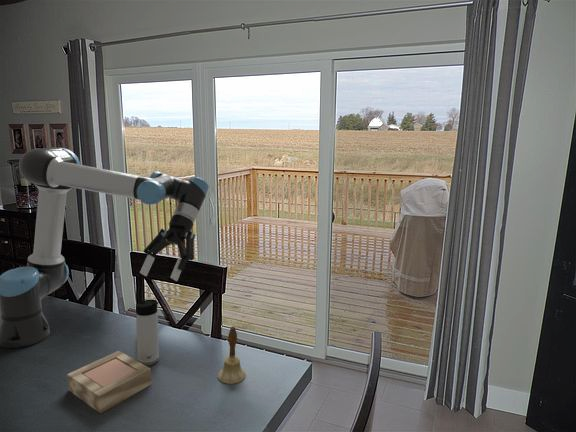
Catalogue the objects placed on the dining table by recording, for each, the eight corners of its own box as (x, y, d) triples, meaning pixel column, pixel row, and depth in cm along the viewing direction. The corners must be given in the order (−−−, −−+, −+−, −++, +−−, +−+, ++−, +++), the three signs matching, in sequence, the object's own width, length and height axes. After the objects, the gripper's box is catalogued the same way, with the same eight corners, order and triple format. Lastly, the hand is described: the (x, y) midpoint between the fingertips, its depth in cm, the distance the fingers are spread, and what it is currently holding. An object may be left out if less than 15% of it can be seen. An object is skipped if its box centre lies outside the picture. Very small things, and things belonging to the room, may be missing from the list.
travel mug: (153, 367, 124) (151, 306, 120) (134, 364, 125) (131, 304, 121) (163, 356, 130) (162, 298, 126) (144, 353, 131) (142, 296, 127)
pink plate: (83, 378, 112) (83, 373, 112) (115, 363, 120) (115, 358, 120) (103, 392, 107) (103, 387, 106) (136, 375, 114) (135, 370, 114)
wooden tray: (68, 390, 112) (67, 374, 111) (119, 365, 124) (118, 350, 123) (100, 413, 103) (99, 396, 102) (151, 384, 116) (150, 368, 115)
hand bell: (250, 371, 124) (251, 323, 121) (238, 387, 116) (238, 336, 113) (225, 365, 127) (226, 318, 123) (212, 380, 119) (212, 330, 116)
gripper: (218, 226, 134) (194, 285, 125) (164, 222, 146) (139, 277, 137) (205, 214, 128) (179, 276, 119) (150, 212, 140) (123, 268, 131)
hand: (157, 277), depth 128 cm, fingers open, 13 cm apart
